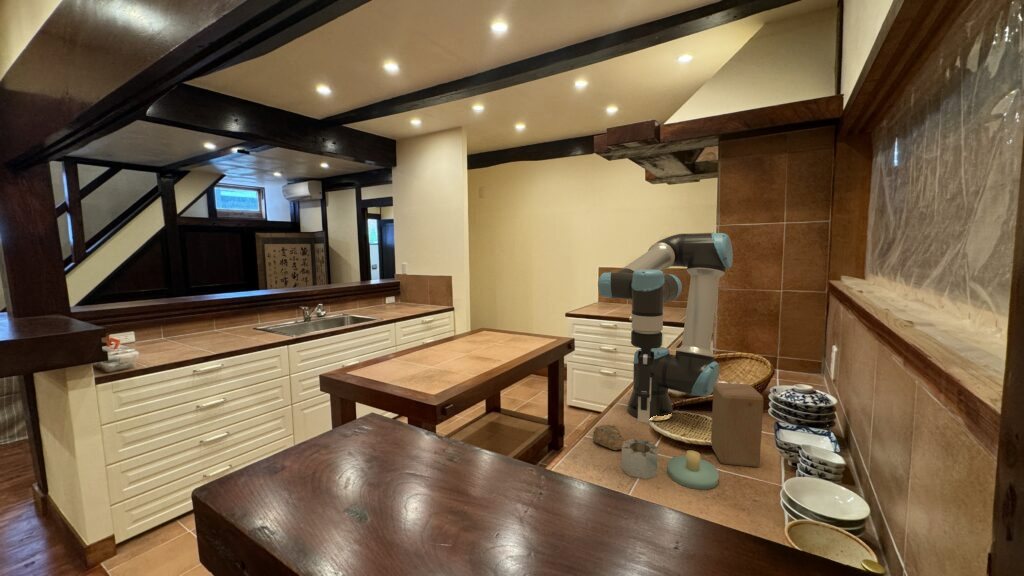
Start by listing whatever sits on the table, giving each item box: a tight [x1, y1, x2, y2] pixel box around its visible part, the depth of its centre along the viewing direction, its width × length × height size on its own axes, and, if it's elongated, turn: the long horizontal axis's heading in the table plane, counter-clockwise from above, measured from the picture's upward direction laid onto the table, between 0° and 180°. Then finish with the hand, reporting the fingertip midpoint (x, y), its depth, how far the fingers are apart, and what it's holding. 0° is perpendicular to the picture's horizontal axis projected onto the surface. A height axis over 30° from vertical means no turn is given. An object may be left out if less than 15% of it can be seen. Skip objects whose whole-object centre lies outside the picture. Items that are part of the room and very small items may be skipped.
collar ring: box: [620, 438, 659, 480], centre depth 106 cm, size 9×9×6 cm
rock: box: [592, 424, 625, 451], centre depth 119 cm, size 9×6×10 cm
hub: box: [667, 450, 720, 491], centre depth 102 cm, size 12×12×6 cm
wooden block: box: [710, 382, 764, 468], centre depth 110 cm, size 10×10×20 cm
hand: (644, 410), depth 103 cm, fingers open, 13 cm apart
